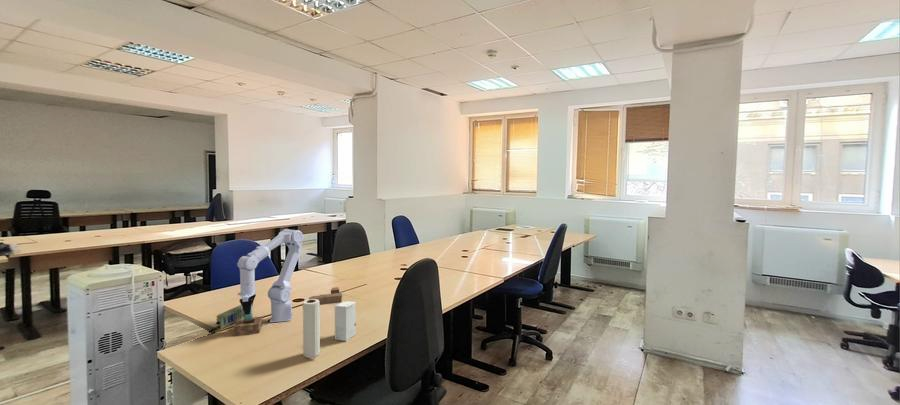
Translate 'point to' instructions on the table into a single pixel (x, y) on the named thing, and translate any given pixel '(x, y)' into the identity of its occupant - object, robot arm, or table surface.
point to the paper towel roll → (311, 328)
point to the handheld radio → (228, 318)
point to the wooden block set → (329, 297)
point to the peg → (248, 316)
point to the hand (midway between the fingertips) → (248, 312)
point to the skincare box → (345, 320)
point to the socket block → (248, 326)
